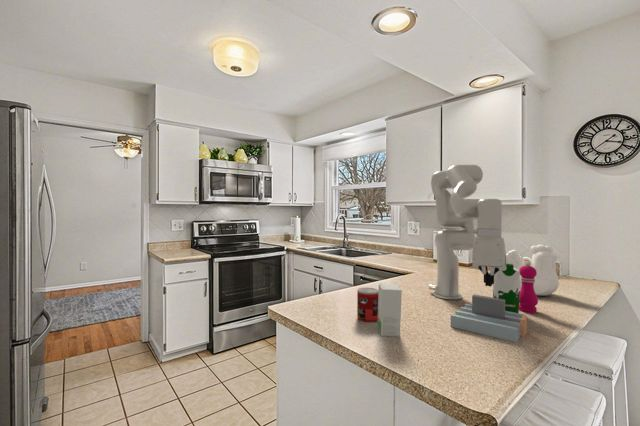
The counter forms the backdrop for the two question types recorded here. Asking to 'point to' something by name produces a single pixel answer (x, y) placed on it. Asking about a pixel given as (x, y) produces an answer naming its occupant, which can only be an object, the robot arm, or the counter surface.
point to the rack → (491, 324)
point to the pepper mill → (527, 289)
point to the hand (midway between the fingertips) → (488, 285)
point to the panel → (488, 306)
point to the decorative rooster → (538, 268)
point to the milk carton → (508, 287)
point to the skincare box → (389, 309)
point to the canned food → (367, 304)
